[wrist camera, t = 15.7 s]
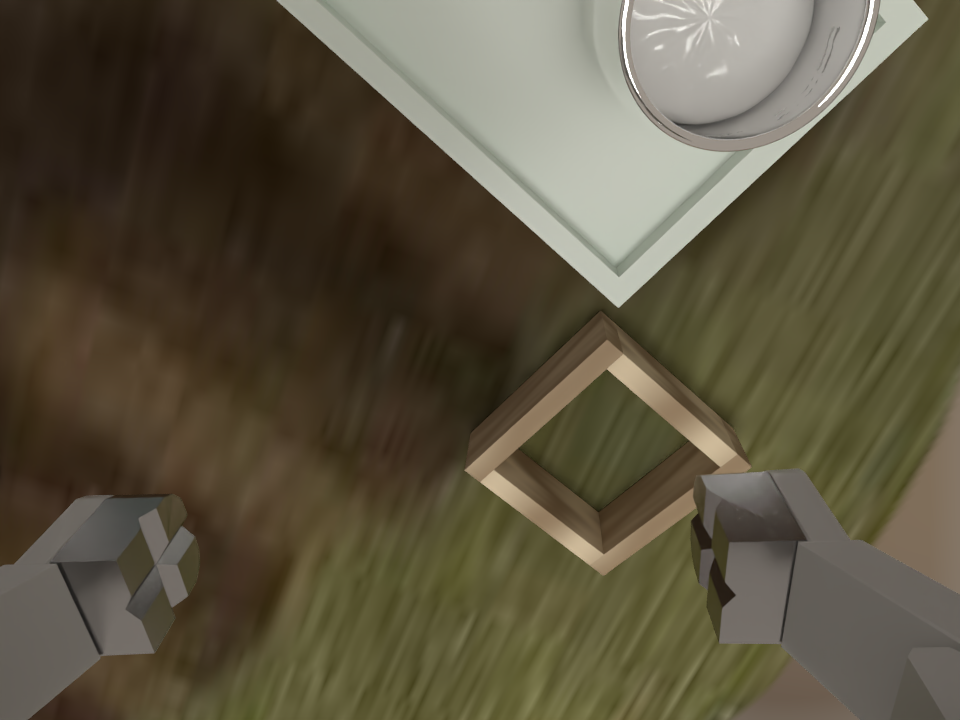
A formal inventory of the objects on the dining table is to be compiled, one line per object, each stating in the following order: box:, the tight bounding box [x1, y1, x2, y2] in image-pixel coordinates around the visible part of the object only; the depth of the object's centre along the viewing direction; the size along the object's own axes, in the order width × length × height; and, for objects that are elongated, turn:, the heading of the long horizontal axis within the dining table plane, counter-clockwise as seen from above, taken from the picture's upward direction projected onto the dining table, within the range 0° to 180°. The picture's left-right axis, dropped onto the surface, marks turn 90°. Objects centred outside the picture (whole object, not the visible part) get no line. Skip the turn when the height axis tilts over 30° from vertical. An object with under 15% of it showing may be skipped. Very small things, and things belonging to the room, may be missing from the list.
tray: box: [277, 0, 928, 308], centre depth 30 cm, size 22×18×2 cm
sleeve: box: [465, 311, 752, 576], centre depth 40 cm, size 11×11×4 cm
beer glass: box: [582, 0, 881, 152], centre depth 24 cm, size 7×7×15 cm
